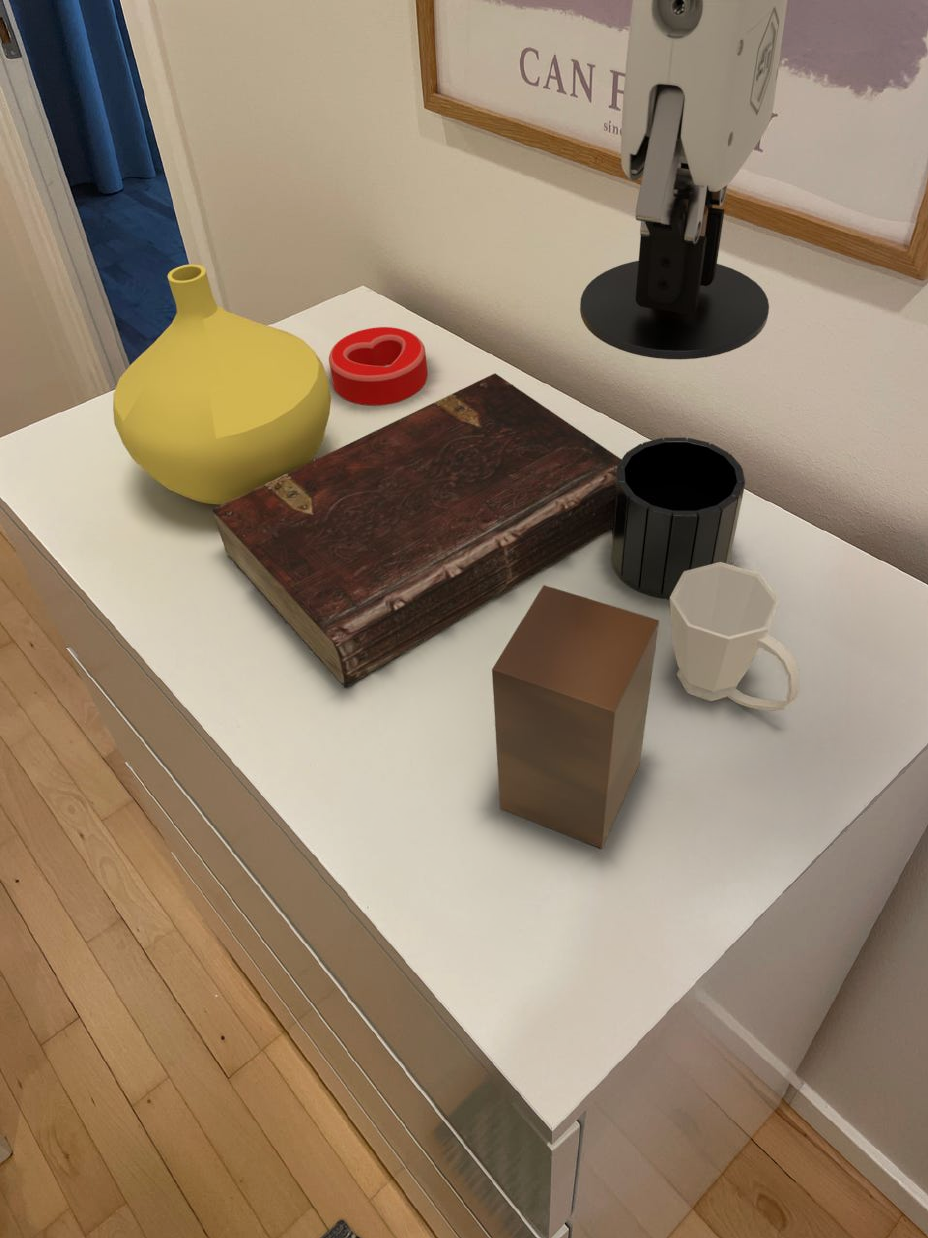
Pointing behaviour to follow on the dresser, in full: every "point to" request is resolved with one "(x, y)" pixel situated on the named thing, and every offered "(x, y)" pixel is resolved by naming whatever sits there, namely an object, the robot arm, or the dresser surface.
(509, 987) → the dresser surface
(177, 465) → the vase
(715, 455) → the dark grey slatted bucket
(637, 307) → the lid
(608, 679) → the stand
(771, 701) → the cup
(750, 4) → the robot arm
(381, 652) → the book
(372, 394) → the decorative ornament
